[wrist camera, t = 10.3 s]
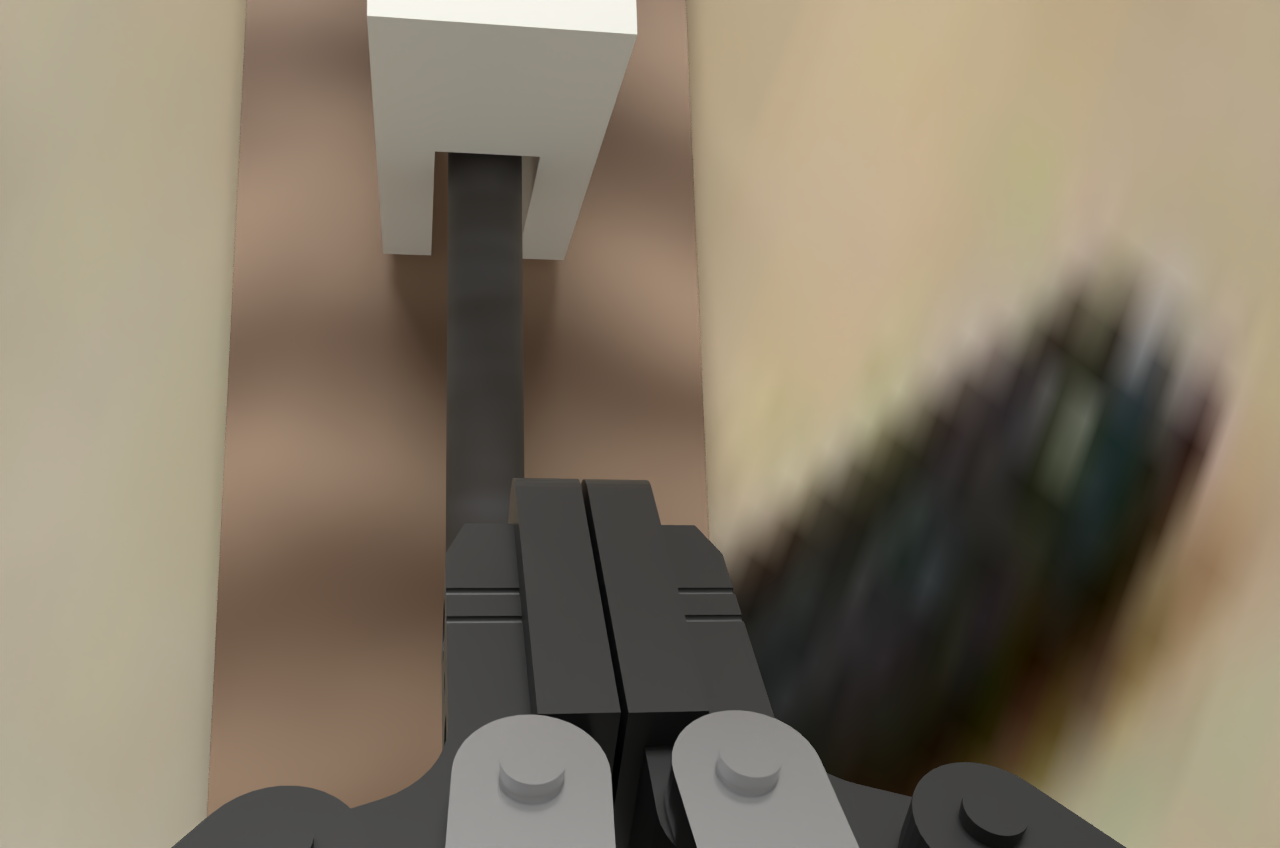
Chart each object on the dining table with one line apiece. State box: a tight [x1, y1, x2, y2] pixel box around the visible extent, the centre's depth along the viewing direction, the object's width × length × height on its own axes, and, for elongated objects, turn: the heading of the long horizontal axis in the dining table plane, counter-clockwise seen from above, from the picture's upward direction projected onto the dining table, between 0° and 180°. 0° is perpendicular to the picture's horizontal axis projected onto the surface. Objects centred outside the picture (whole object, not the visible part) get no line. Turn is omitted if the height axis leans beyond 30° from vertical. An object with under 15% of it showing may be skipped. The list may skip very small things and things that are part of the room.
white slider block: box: [367, 0, 637, 260], centre depth 27 cm, size 4×5×11 cm
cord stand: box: [207, 0, 709, 817], centre depth 28 cm, size 32×12×10 cm, turn 2°
